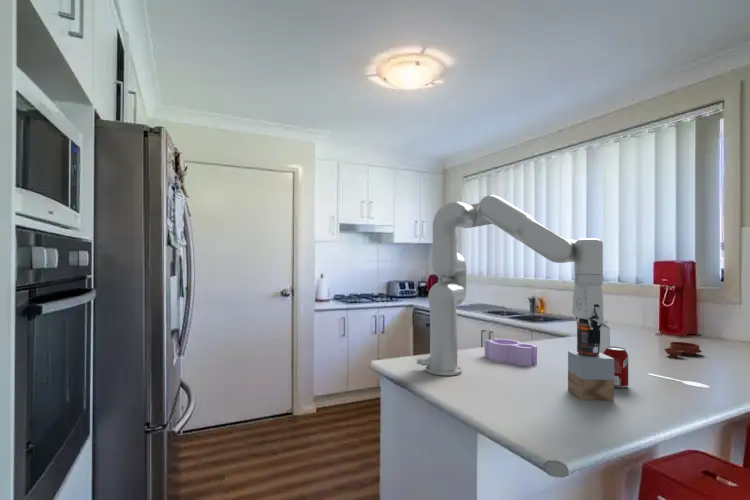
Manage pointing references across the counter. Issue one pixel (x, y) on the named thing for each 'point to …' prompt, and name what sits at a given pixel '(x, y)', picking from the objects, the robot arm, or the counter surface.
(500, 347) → the clip
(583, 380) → the tower base block
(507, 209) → the robot arm
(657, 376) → the spoon
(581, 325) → the supplement bottle
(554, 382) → the counter surface
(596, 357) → the tower top block
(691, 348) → the pottery
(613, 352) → the soda can
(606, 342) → the milk carton
